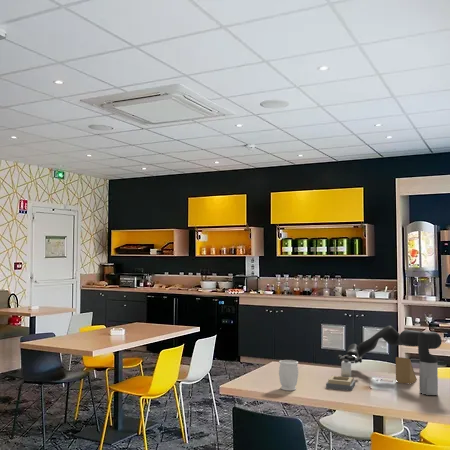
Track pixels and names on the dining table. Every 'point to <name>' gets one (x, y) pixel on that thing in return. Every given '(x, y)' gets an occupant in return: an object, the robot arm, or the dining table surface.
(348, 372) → the grey bottle
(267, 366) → the dining table surface
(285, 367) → the jar
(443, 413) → the dining table surface
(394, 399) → the dining table surface
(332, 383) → the charcoal dock
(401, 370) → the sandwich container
